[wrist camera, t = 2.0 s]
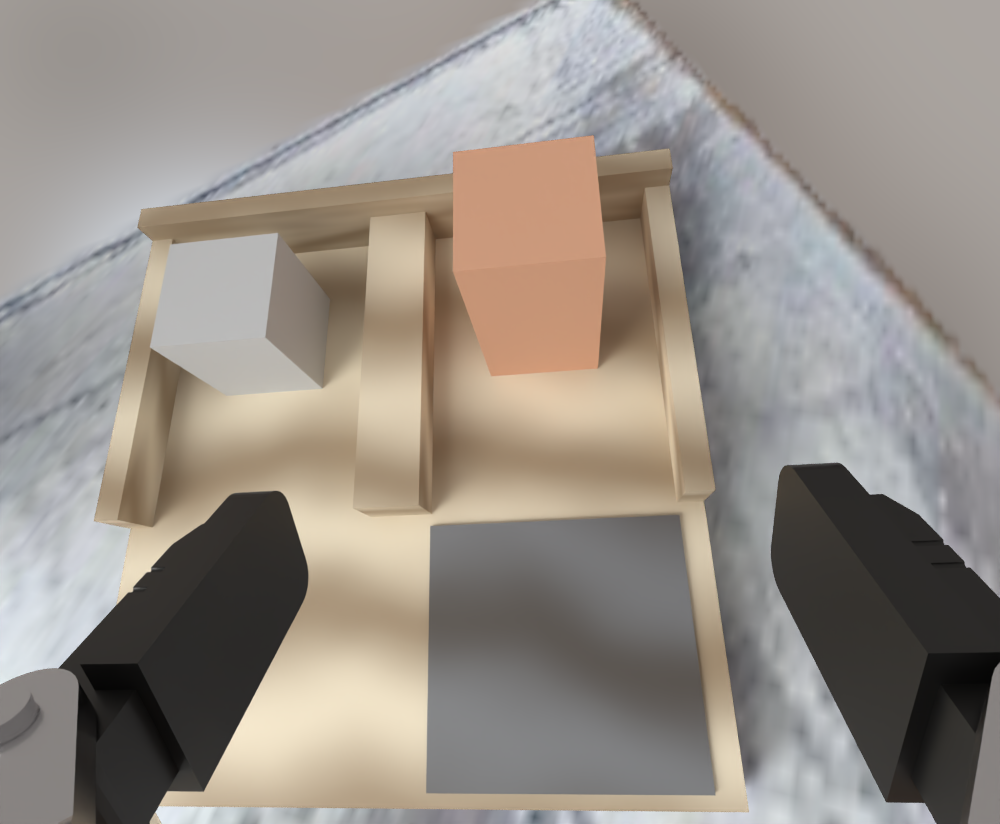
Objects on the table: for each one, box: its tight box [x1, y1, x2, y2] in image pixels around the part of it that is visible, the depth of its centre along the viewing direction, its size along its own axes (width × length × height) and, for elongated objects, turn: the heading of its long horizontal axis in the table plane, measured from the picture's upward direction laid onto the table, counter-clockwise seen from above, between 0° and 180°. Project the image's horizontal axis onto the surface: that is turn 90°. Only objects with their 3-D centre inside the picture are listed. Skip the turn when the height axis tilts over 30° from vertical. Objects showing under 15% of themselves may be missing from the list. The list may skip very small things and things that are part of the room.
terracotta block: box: [453, 135, 606, 376], centre depth 22 cm, size 4×4×8 cm
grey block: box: [150, 233, 330, 396], centre depth 24 cm, size 4×4×5 cm
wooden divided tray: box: [94, 149, 749, 812], centre depth 23 cm, size 24×24×5 cm
